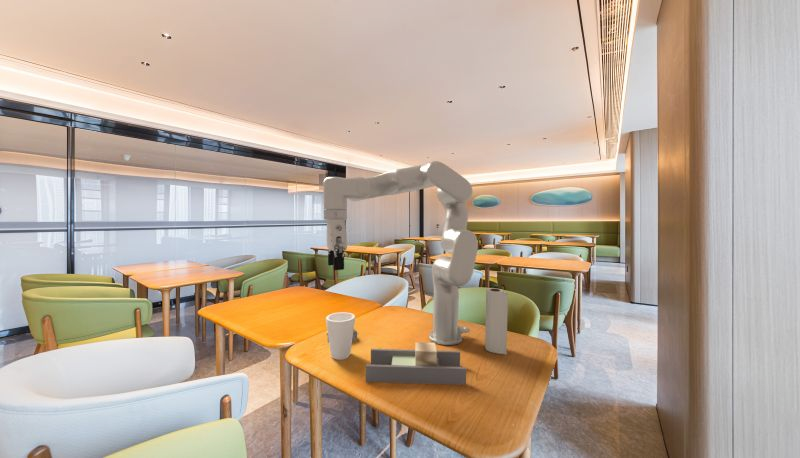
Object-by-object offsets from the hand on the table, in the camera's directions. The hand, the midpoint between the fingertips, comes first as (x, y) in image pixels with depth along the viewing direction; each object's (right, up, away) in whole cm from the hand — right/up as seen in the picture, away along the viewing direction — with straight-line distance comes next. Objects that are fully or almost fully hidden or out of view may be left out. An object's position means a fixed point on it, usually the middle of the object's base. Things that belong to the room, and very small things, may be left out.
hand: (335, 267), depth 96 cm
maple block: (+29, -27, -9) cm, 41 cm away
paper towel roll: (+54, -30, +6) cm, 63 cm away
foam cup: (+1, -30, +2) cm, 30 cm away
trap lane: (+26, -30, -9) cm, 41 cm away
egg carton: (-1, -30, +14) cm, 33 cm away
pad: (+22, -30, -9) cm, 39 cm away
